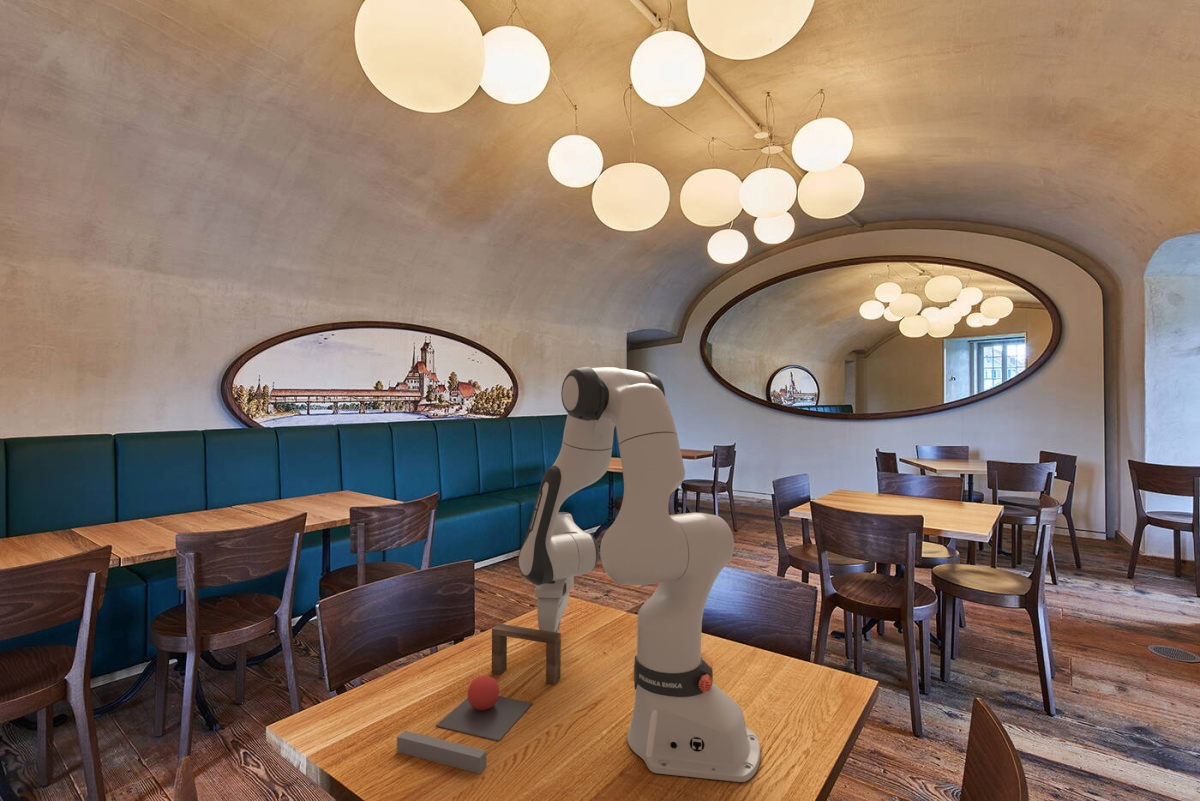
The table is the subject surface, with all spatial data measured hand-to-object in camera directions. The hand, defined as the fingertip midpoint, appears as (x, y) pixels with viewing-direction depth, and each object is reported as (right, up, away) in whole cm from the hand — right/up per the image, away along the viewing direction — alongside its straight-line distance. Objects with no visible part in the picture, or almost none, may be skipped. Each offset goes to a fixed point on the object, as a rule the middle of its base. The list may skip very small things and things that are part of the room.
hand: (554, 637), depth 134 cm
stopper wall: (-15, -2, -42) cm, 45 cm away
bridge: (-5, -2, -14) cm, 15 cm away
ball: (-11, +1, -27) cm, 29 cm away
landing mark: (-11, -2, -29) cm, 31 cm away
